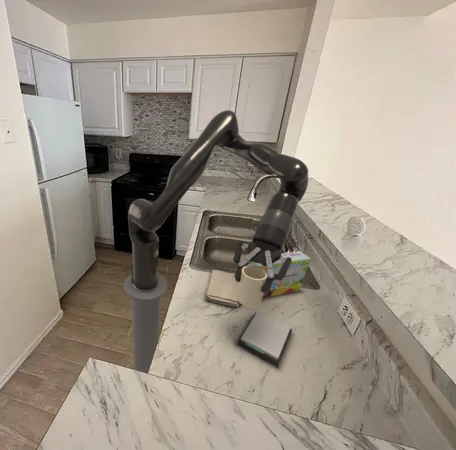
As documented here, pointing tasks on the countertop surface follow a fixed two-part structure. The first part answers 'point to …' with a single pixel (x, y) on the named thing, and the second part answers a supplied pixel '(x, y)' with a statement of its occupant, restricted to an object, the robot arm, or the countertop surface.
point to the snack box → (287, 274)
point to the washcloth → (223, 288)
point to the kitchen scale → (265, 338)
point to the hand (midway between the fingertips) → (249, 286)
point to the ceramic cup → (251, 286)
